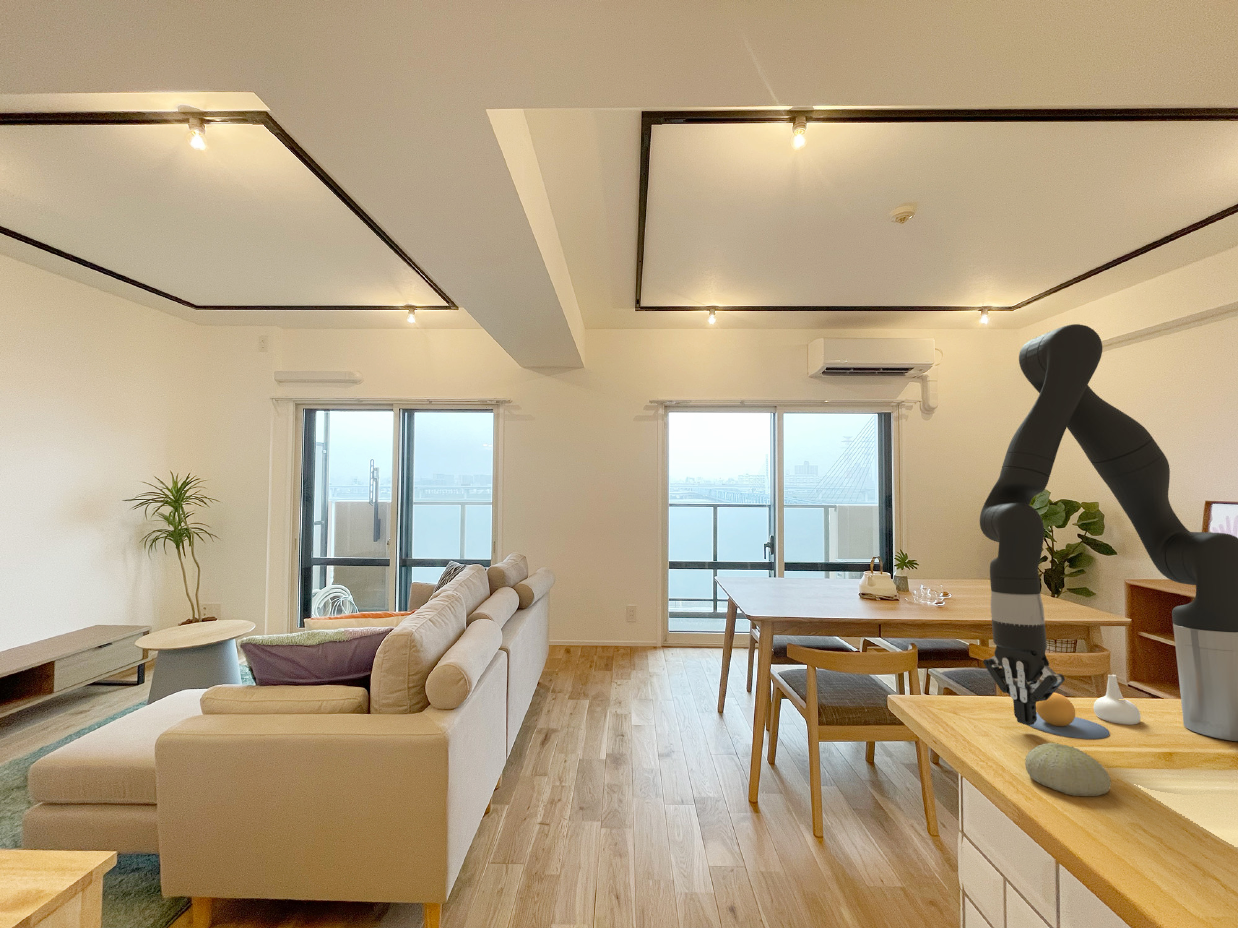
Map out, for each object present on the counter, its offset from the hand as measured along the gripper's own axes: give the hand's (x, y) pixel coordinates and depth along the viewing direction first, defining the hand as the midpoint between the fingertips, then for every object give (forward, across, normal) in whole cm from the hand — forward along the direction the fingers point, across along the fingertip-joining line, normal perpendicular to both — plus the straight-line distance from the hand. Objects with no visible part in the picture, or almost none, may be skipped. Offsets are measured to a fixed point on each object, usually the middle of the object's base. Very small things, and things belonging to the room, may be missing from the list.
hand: (1025, 723), depth 95 cm
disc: (+2, 0, -9) cm, 9 cm away
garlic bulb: (+2, -1, -21) cm, 21 cm away
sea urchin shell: (+2, -15, +13) cm, 20 cm away
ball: (-1, 0, -8) cm, 8 cm away
